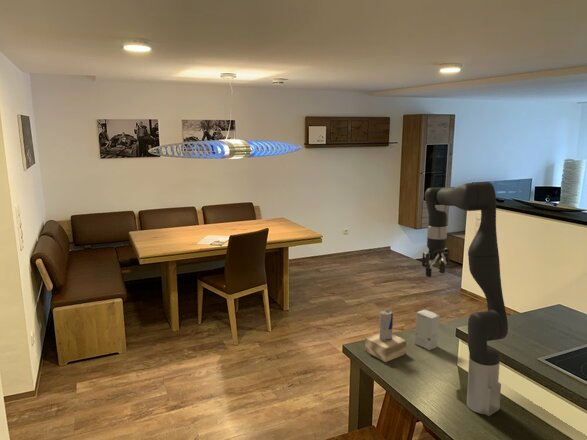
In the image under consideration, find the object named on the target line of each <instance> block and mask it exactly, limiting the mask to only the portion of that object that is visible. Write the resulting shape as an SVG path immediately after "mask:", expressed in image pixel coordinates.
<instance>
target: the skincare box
mask: <svg viewBox="0 0 587 440" xmlns="http://www.w3.org/2000/svg"><path fill="white" fill-rule="evenodd" d="M440 320H441V315H439V314H438V313H435V312H433V311H430V310H427V309H422V310H419V311H417V312H416V323H415V332H414V333H415V334H414V344H415V345H416V346H419V347H422V348H424V349H426V350H428V351H431V350H433V349H436V348H437V347H438V346H439V345H438V342H439V331H440Z"/></svg>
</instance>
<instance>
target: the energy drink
mask: <svg viewBox="0 0 587 440" xmlns="http://www.w3.org/2000/svg"><path fill="white" fill-rule="evenodd" d="M393 320H394V315H393V311H392V310H389V309H381V310H380V311H379V328H378V329H379V331H378V333H379V339H380V340H381V341H384V342H389V341H391V340H392V334H393V327H394V326H393V323H394V322H393Z"/></svg>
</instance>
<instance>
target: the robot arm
mask: <svg viewBox="0 0 587 440" xmlns="http://www.w3.org/2000/svg"><path fill="white" fill-rule="evenodd" d="M424 200H425V204H426V208H427V213H428V221H427V222H428V226H427V235H426V248H428V250H427V251H428V252H425V251H423V253H422V260H421V266H422V267H424V268H425V276H426V277H427V278H431V277H432V270H433V265H435V264H436V262H439V271H438V272H439V273H440V274H445V273H446V265H447V263H450V248H448V247H447V237H448V231H447V229H448V228H447V225H448V224H447V222H448V221H447V220H448V216H447V215H448V214H447V212H446V211H443V210H439V209H437V208H436V206H448V207H456V208H458V209H460V210H463V211H467V212H474V211H477V212H478V211H480V224H479V226H478V230H477V231H476V234H475V235H474V237H473V239H472V241H471V243H470V245H469V247H468V251H467V256H468V268H469V272H470V275H471V277H472V278H473V280H474V281H475V282H476V284H477V285H478V287H480V289H481V291H482V292H483V294H484V297H485V300H486V305H487V311H479V312H478V311H476V312H473V313H471V314H470V315H469V317H468V321H467V347H468V373H467V388H466V389H467V391H466V392H467V393H466V406H467V408H468V409H469V410H471V411H473V412H475V413H478V414H479V415H485V416H487V417H490V416H492V415H494V414H496V412H498V411H499V410H500V405H501V404H500V403H501V390H502V389H501V388H502V383H500V382H499V379H500V378H499V376H500V365H501V353H500V352H499V351H498V350H497V349H496V348H494V347H492V346H491V345H488V342H489V341H499V340H503V339H505V338H506V337H507V335H508V333H509V323H508V316H507V311H506V306H505V301H504V297H503V288H502V287H503V286H502V280H501V263H500V254H499V247H498V235H497V233H498V232H497V196H496V190H495V187H494V185H493V184H492V183H491V182H489V181H482V182H467V183H464V184H461V185H458V186H456V187H455V186H448V187H446V186H445V187H428V188H427V189H426V191H424Z"/></svg>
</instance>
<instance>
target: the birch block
mask: <svg viewBox="0 0 587 440" xmlns="http://www.w3.org/2000/svg"><path fill="white" fill-rule="evenodd" d="M364 351H365V352H366V351H367V352H366V353H368V354H370V355H371V356H374V357H375V358H377V359H378V360H381V361H383V362H385V363H387V362H389V361H392V360H394V359H397V358H399V357H402V356H404V355H406V354H407V340H406V339H404V338H402V337H400V336H397V335H396V334H394V333H392V340H391V341H389V342H384V341H381V340H380V339H379V332H377V333H375V334H372V335H369V336H366V337H364Z"/></svg>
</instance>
